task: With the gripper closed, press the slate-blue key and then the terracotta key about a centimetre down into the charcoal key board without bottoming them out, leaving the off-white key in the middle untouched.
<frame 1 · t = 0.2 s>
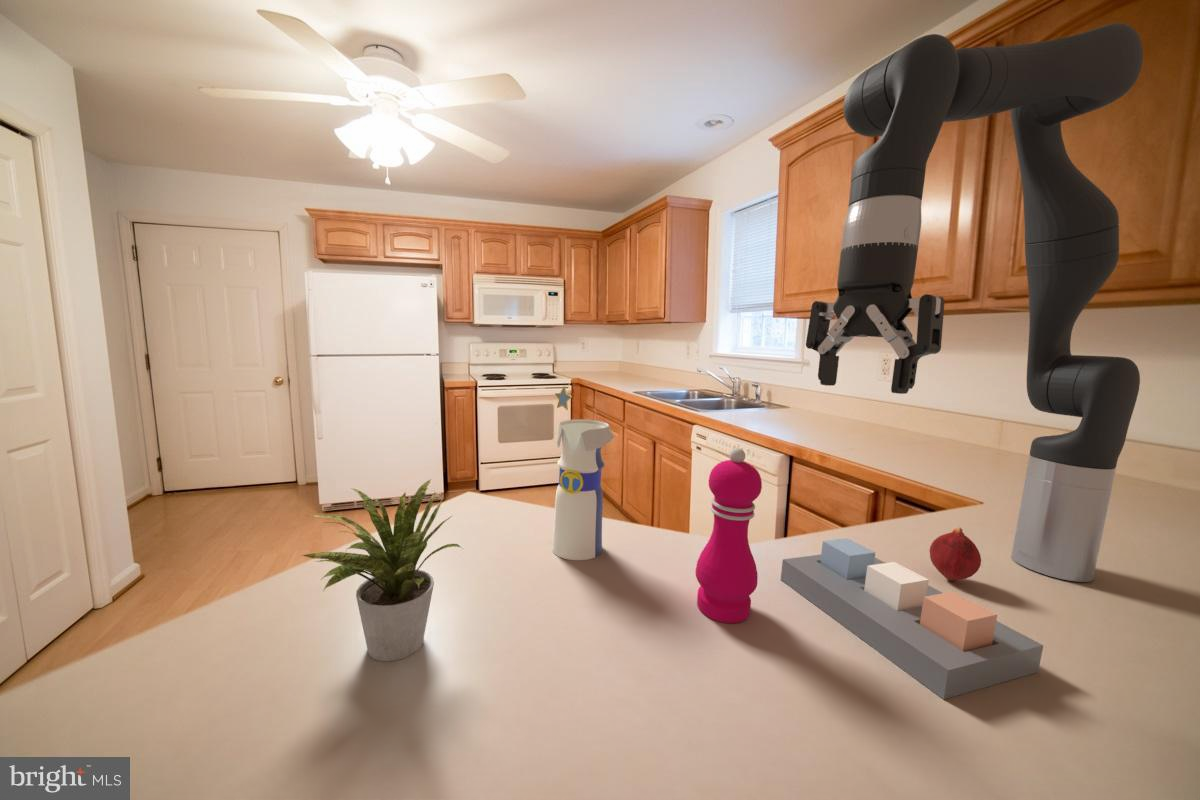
hand: (860, 388, 53), 28 cm above the countertop, tool pointing down, fingers open, 8 cm apart
white key: (895, 588, 55), point 4 cm above the countertop, slide at 0.0 cm
pepper mill: (722, 609, 55), on the countertop
house plant: (395, 637, 47), on the countertop
key board: (890, 619, 55), on the countertop
blue key: (846, 560, 61), point 4 cm above the countertop, slide at 0.0 cm
onion: (950, 581, 66), on the countertop
terracotta key: (956, 623, 48), point 4 cm above the countertop, slide at 0.0 cm
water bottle: (577, 550, 69), on the countertop
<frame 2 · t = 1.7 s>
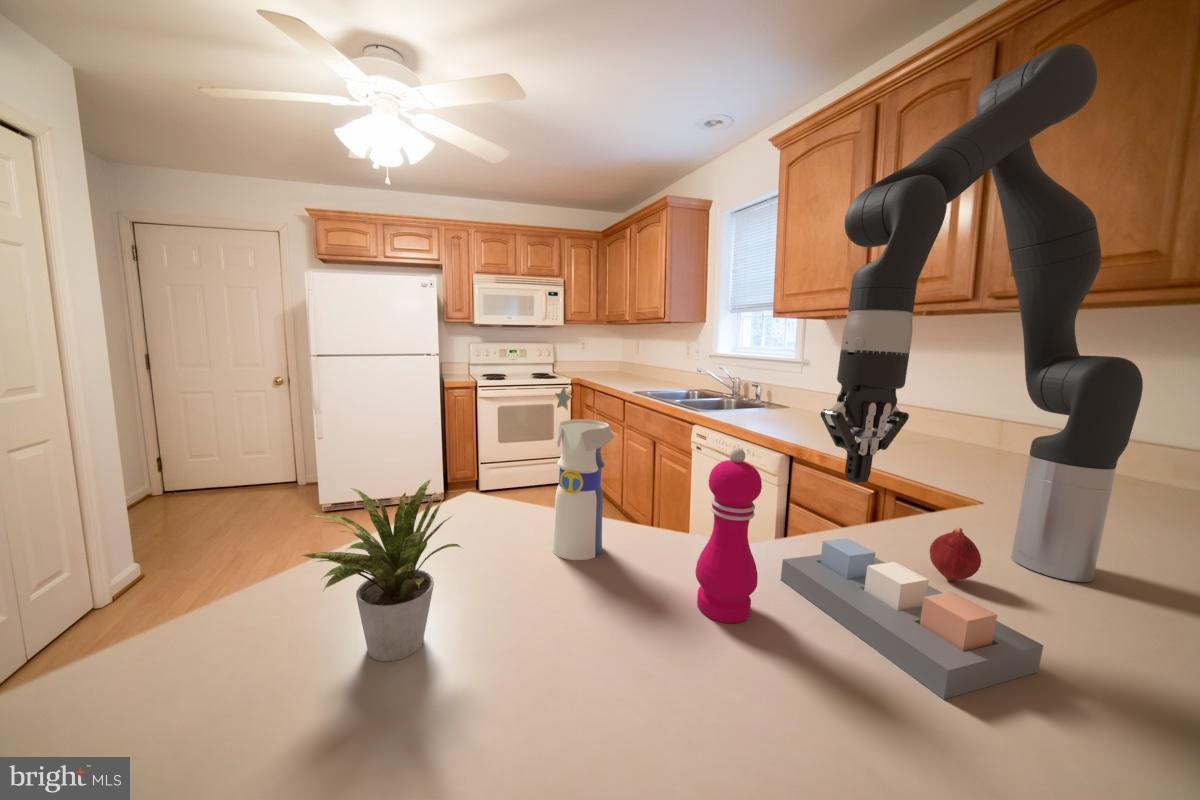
hand: (856, 480, 60), 15 cm above the countertop, tool pointing down, fingers closed
nothing on the countertop moved.
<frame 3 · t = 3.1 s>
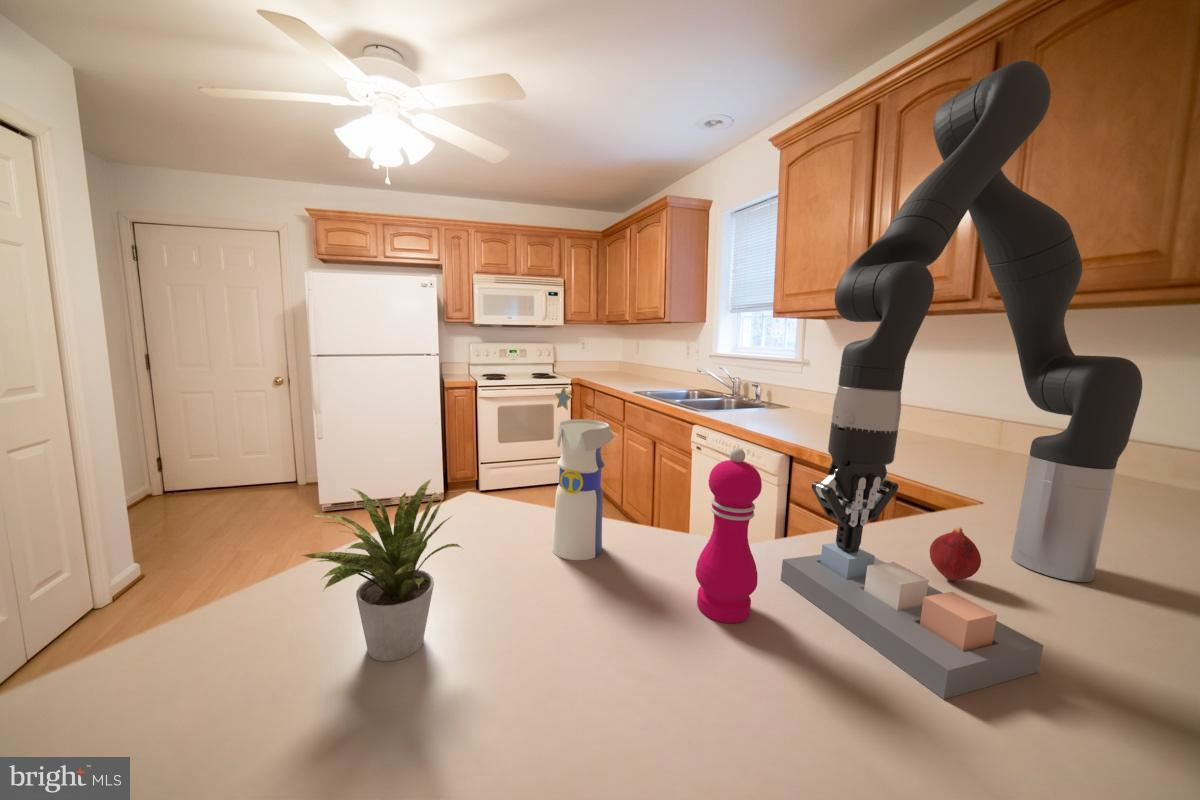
hand: (847, 549, 61), 6 cm above the countertop, tool pointing down, fingers closed
blue key: (846, 564, 61), point 4 cm above the countertop, slide at 0.5 cm, touching gripper
everything else where it was.
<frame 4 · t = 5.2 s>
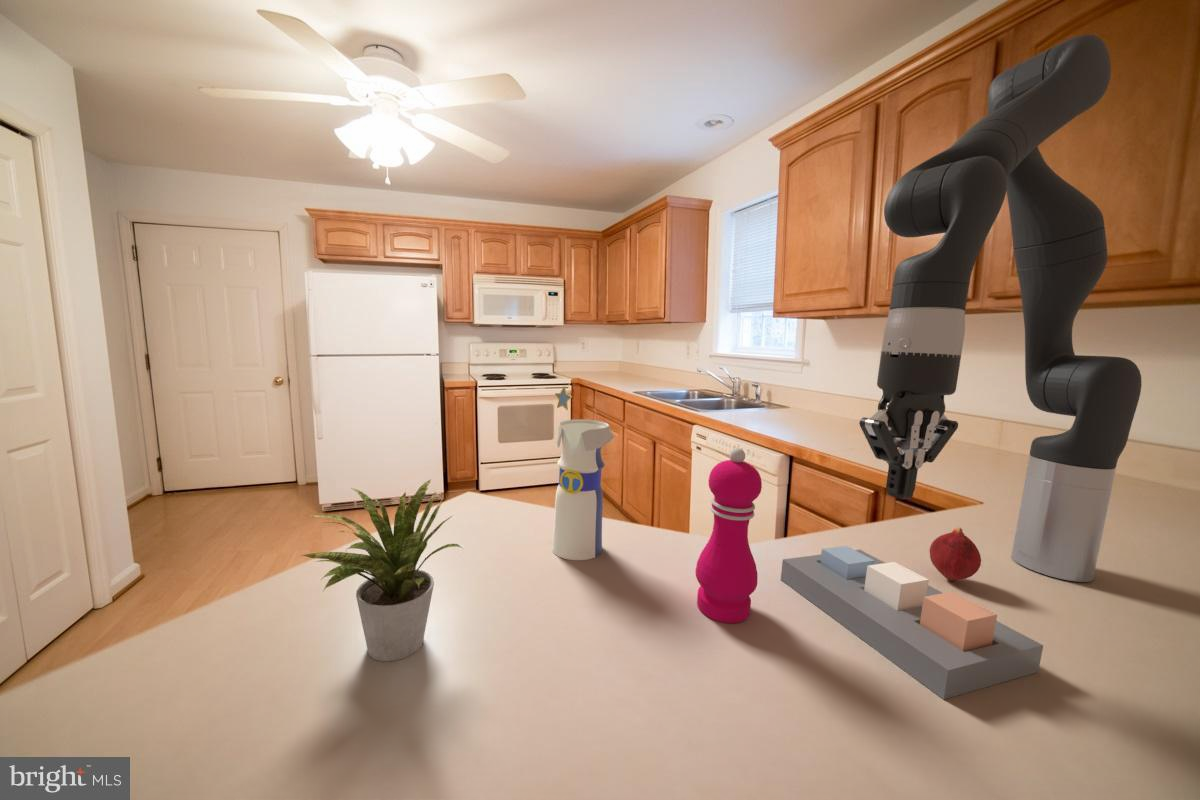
hand: (898, 496, 54), 15 cm above the countertop, tool pointing down, fingers closed
blue key: (845, 568, 61), point 3 cm above the countertop, slide at 1.1 cm
everything else where it was.
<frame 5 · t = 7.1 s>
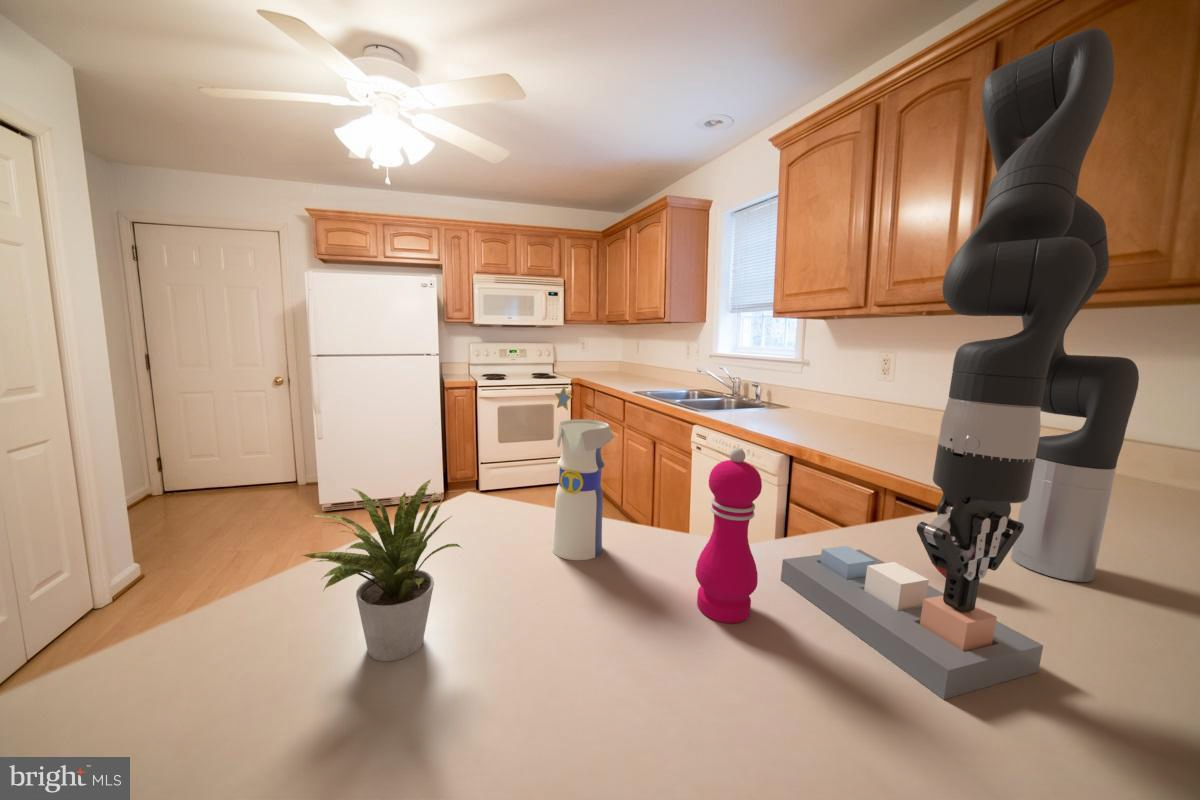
hand: (957, 607, 48), 6 cm above the countertop, tool pointing down, fingers closed
terracotta key: (956, 625, 48), point 4 cm above the countertop, slide at 0.3 cm, touching gripper
everything else where it was.
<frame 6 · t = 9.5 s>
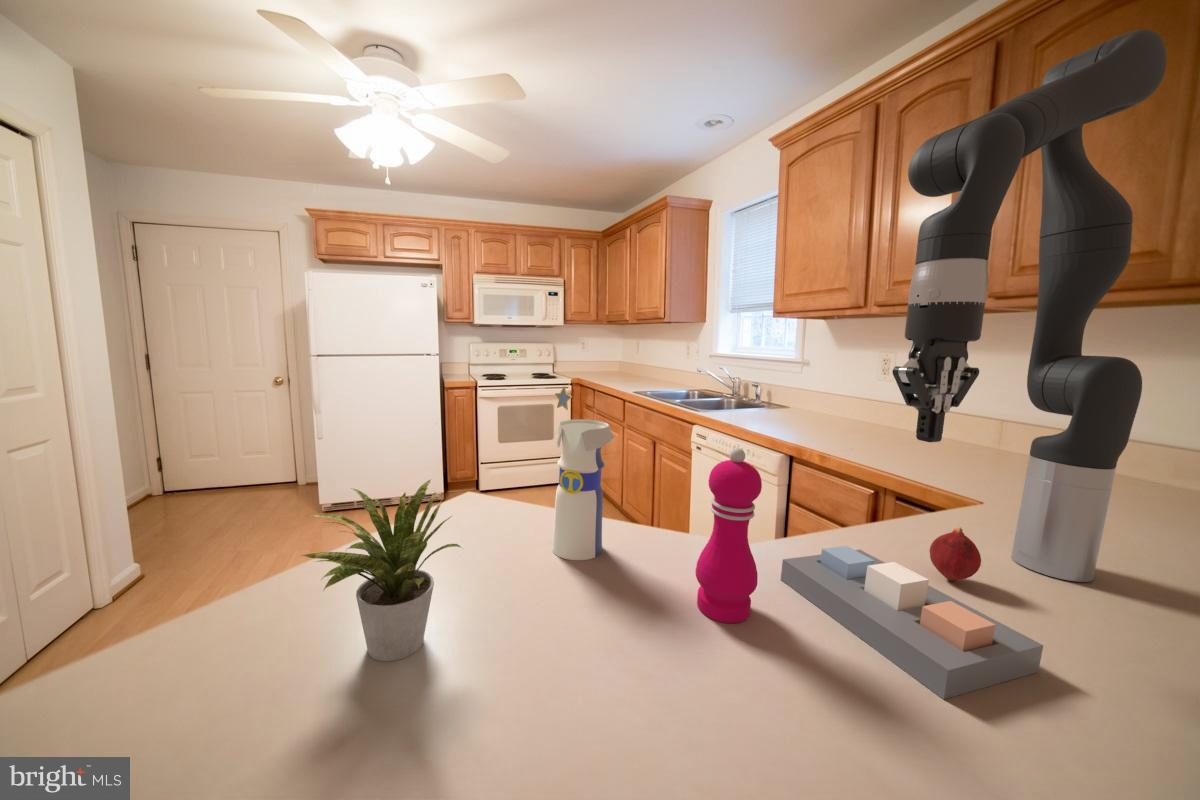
hand: (928, 440, 58), 21 cm above the countertop, tool pointing down, fingers closed
terracotta key: (955, 632, 48), point 3 cm above the countertop, slide at 1.1 cm
everything else where it was.
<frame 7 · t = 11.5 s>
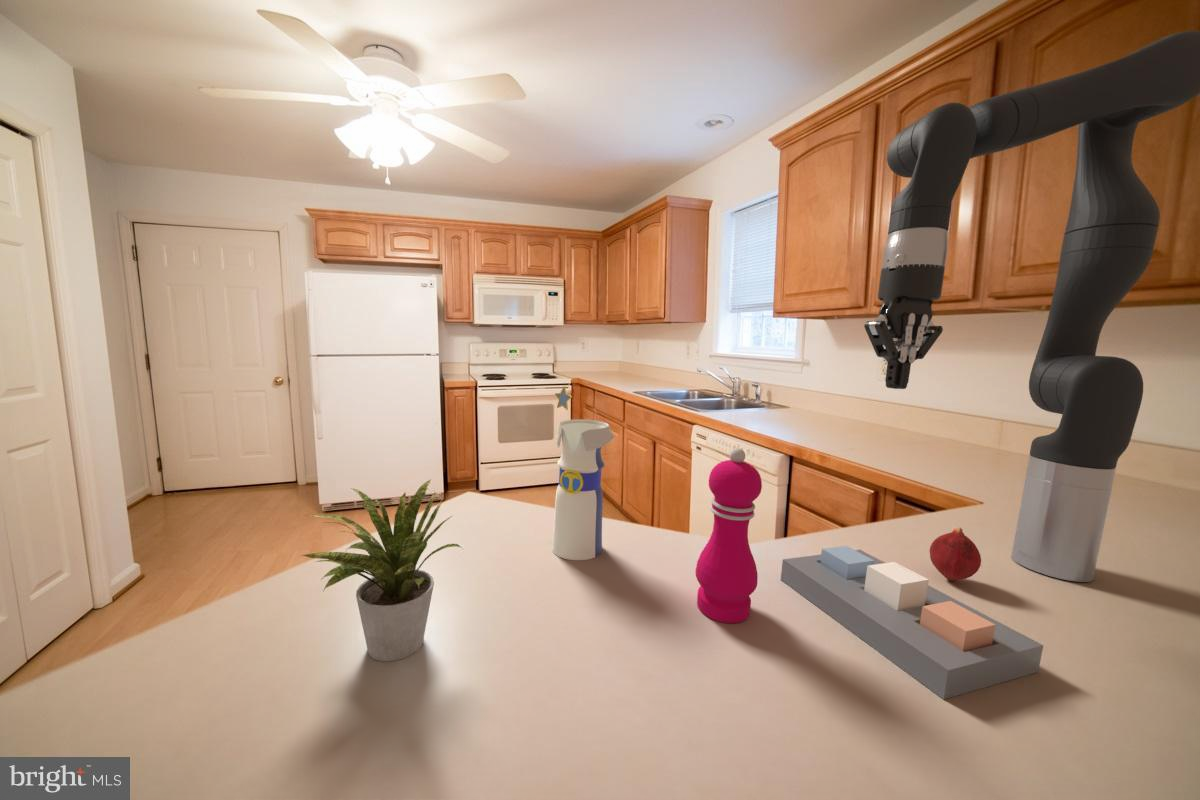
hand: (895, 388, 66), 27 cm above the countertop, tool pointing down, fingers closed
nothing on the countertop moved.
at the end: blue key slide at 1.1 cm; terracotta key slide at 1.1 cm; white key slide at 0.0 cm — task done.
